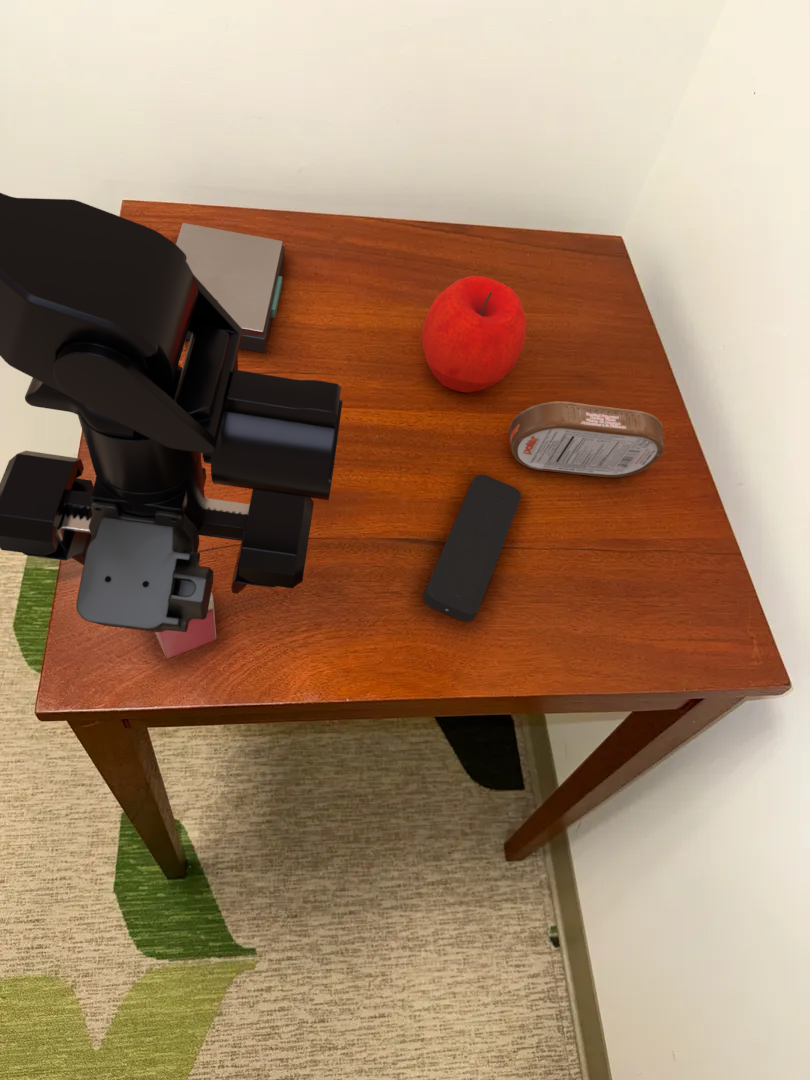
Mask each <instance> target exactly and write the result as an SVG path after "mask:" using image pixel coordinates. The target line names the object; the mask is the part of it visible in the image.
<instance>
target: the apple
mask: <svg viewBox="0 0 810 1080" xmlns="http://www.w3.org/2000/svg"><path fill="white" fill-rule="evenodd" d="M527 322H528V321H527V318H526V314H525V311H524V308H523V304H522V300H521V298H520V297H519V296H518V295H517V293H516V292H515V291H514V290H513V289H512V288H511V287H509V286H508V285H506V284H504V283H502V282H500V281H498V280H494V279H492V278H490V277H487V276H480V275H479V276H477V275H469V276H467V277H462V278H460V279H457V280H456V281H455V282H453V283H451V284H450V285H449V286H447V287H446V288H445V289H443V291H441V292H440V293H439V294H438V295H437V296H436V297H435V299H434V301H433V302H432V303H431V305H430V308H429V310H428V312H427V315H426V317H425V318H424V321H423V323H422V332H421V341H422V343H421V344H422V348H423V353H424V356H425V361H426V364H427V366H428V367H429V369H430V371H431V373H432V375H433V376H434V377H435V378H436V380H437V381H438V382H439V384H441V385H442V386H443V387H446V388H448V389H450V390H452V391H456V392H461V393H474V392H479V391H483V390H485V389H488V388H490V387H492V386H495V385H496V384H497V383H498V382H500V380H502V379H504V377H505V376H506V375H508V374H509V373H510V372H511V371H512V370H513V369H514V367H515V365H516V363H517V361H518V359H519V357H520V355H521V352H522V350H523V348H524V345H525V342H526V337H527Z"/></svg>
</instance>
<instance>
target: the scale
mask: <svg viewBox="0 0 810 1080" xmlns="http://www.w3.org/2000/svg"><path fill="white" fill-rule="evenodd" d="M175 244H176V245H177V246H178V247H179V248H180V249H181V250H182V251H183V252H184V253H185V255H186V257H187V259H186V262H187V263H188V265H189V267H190V269H191V271H192V273H193V274H194V276H195V277H196V278H197V279H198V280H199V281H200V282H201V283H202V285H203V286H204V287H205V288H206V289H207V290H208V291H209V292H210V293H211V295H212V296H213V297H214V298H215V299H216V300H217V301H218V302H219V304H220V305H221V306H222V307H223V308H224V309H225V310H226V311H227V312H228V314H229V315H230V316H231V317H232V318H233V319H234V320H235V321H236V323H237V324H238V325H239V326H240V327H241V328H242V330H243V333H242V337H241V342H240V346H239V350H244V351H250V352H256V353H262V354H264V353H266V349H267V344H268V338H269V334H270V329H271V323H272V320H273V318H274V319H275V318H276V317H277V311H278V307H279V302H280V297H281V292H282V287H283V276H282V274H283V273H282V272H283V268H284V263H285V245H284V242H283V240H280V239H275V238H268V237H262V236H257V235H251V234H247V233H242V232H241V233H240V232H237V231H230V230H225V229H219V228H213V227H208V226H203V225H197V224H192V223H187V222H182V223H181V226H180V230H179V233H178V236H177V238H176V241H175ZM191 336H192V333H191V332H190V331H188V332H187V336H186V339H185V341H188V342H190V339H191Z"/></svg>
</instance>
